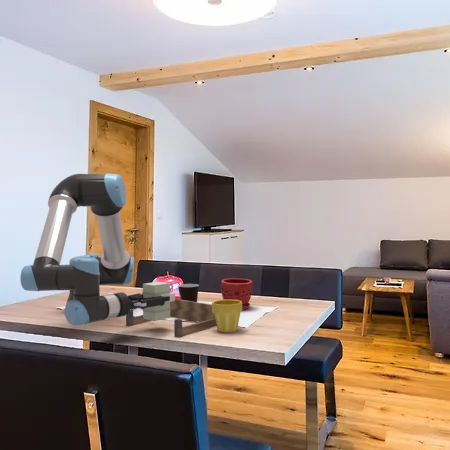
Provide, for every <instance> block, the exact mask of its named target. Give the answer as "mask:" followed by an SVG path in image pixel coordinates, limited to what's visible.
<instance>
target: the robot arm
mask: <svg viewBox="0 0 450 450" xmlns="http://www.w3.org/2000/svg"><path fill="white" fill-rule="evenodd" d="M125 185H126V184H125V182H124V179H123V177H122V176H121V175H120V174H117V173H109V172H108V173H74V174H71V175H68V176H67V177H65V178H64V179H62V180H61V181H60V182H59V183H57V185H56V186H55V187H54V188H53V190H52V191H51V193H50V195H49V198H48V201H47V206H48V213H47V216H46V219H45V222H44V226H43V229H42V233H41V236H40V239H39V243H38V246H37V251H36V254H35V257H34V261H33V262H32V264H29V265H25V266H23V267H22V269H21V270H20V277H19V280H20V285H21V287H22V289H23V290H24V291H29V292H44V291H69V292H68V293H69V294H68V296H67V297H68V298H67V300H66V304H65V306H64V307H65V308H64V317H65V319H66V321H67V322H68V324H70V325H72V326H79V325H88V324H91V323H96V322H100V321H104V322H108V320H109V319H115V318H121V317H126V315H127V314H128V313H129V311H130V309H131V310H133V311H134V310H137V309H141V310H143V309H145V308H148V307H154V306H159V305H160V306H163V305H165V303H166V302H171V301H175V299H176V293H175V292H170V294H164V295H160V296H157V297H148V298H144V297H143V291H141V292H142V293H141V292H138V293H135V294H129V295H127V294H126V293H125V292H115V293H110V294H109V293H108V294H102V295H101V294H100V291H101V289H100V286H124V285H125V286H126V285H130V284H132V283H133V280H134V279H133V278H134V277H133V276H134V269H135V257H134V256H130V253H129V252H128V251H127V250H126V248H125V239H124V233H123V227H122V219H121V213H120V212H121V211H122V209H123V207H124V206H125V205H126V203H127V192H126V191H127V190H126V186H125ZM78 207H90V210H91V211H90V212H91V213H92V214H93V215H95V216H96V219H97V226H98V227H97V228H98V231H99V236H100V242H101V247H102V253H103V254H102V255H101V256H100V257H99V254H98V253H91V254H84V255H79V256H74V257H71V258H70V260H69V262H68V263H69V264H61V261H62V258H63V253H64V248H65V245H66V241H67V237H68V233H69V228H70V225H71V220H72V217H73V214H74V213H76V211H77V209H78Z"/></svg>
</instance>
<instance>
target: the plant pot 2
mask: <svg viewBox="0 0 450 450" xmlns="http://www.w3.org/2000/svg"><path fill="white" fill-rule="evenodd" d="M211 304H212V312H213V313H214V315H215V320H216V324H217V326H216V328H217V331H219V332H221V333H235V332H237V331H238V327H239V321H240V317H241V313H242V311H243V310H242V302H241V301H239V300H223V299H218V300H214V301H212V302H211Z"/></svg>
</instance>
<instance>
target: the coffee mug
mask: <svg viewBox="0 0 450 450" xmlns="http://www.w3.org/2000/svg"><path fill="white" fill-rule="evenodd" d="M177 287H178V294H179V299H180V300H186V301H193V302H198V298H199V289H200V288H199V287H200V285H199V284H196V283H185V284H184V283H183V284H179V285H178V286H177Z"/></svg>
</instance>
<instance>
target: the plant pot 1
mask: <svg viewBox="0 0 450 450" xmlns="http://www.w3.org/2000/svg"><path fill="white" fill-rule="evenodd" d="M220 285H221V286H220V288H221V290H220V291H221V296H222V300H239V301H241V302H242V311H244V310H247V309H248V308H250V306H251V304H250V300H251V298H252V293H253V280H251V279H247V278H236V277H235V278H232V277H231V278H224V279H222V280H221V283H220Z"/></svg>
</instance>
